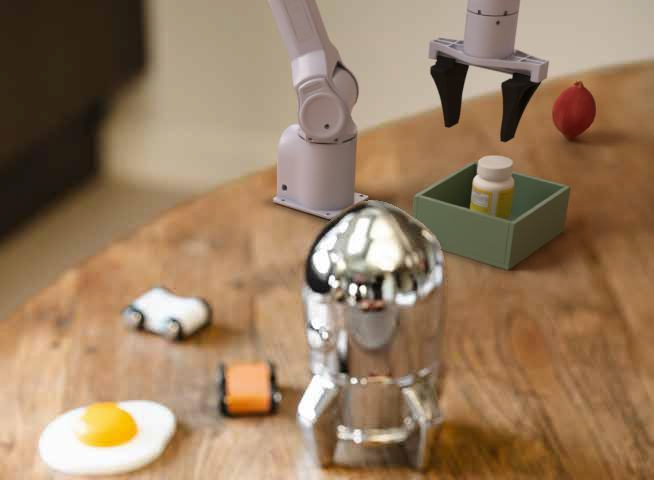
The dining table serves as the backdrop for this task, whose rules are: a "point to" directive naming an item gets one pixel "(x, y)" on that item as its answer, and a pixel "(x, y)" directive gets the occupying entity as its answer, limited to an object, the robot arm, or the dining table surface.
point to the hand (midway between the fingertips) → (478, 132)
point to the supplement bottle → (493, 187)
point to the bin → (492, 217)
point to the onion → (574, 110)
